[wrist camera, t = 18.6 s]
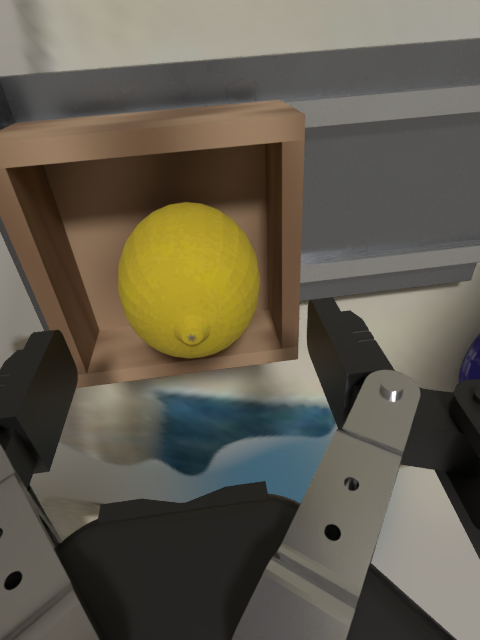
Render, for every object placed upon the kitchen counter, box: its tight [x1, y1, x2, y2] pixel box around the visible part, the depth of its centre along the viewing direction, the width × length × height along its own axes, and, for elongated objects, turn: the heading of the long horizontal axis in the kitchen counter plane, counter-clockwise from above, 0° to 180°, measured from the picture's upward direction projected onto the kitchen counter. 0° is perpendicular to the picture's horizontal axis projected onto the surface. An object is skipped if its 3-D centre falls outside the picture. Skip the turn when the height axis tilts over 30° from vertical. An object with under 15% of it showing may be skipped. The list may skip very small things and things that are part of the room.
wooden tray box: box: [0, 100, 305, 388], centre depth 19 cm, size 11×11×6 cm
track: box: [0, 38, 480, 331], centre depth 22 cm, size 28×14×3 cm, turn 94°
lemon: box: [118, 202, 260, 358], centre depth 16 cm, size 6×6×8 cm
